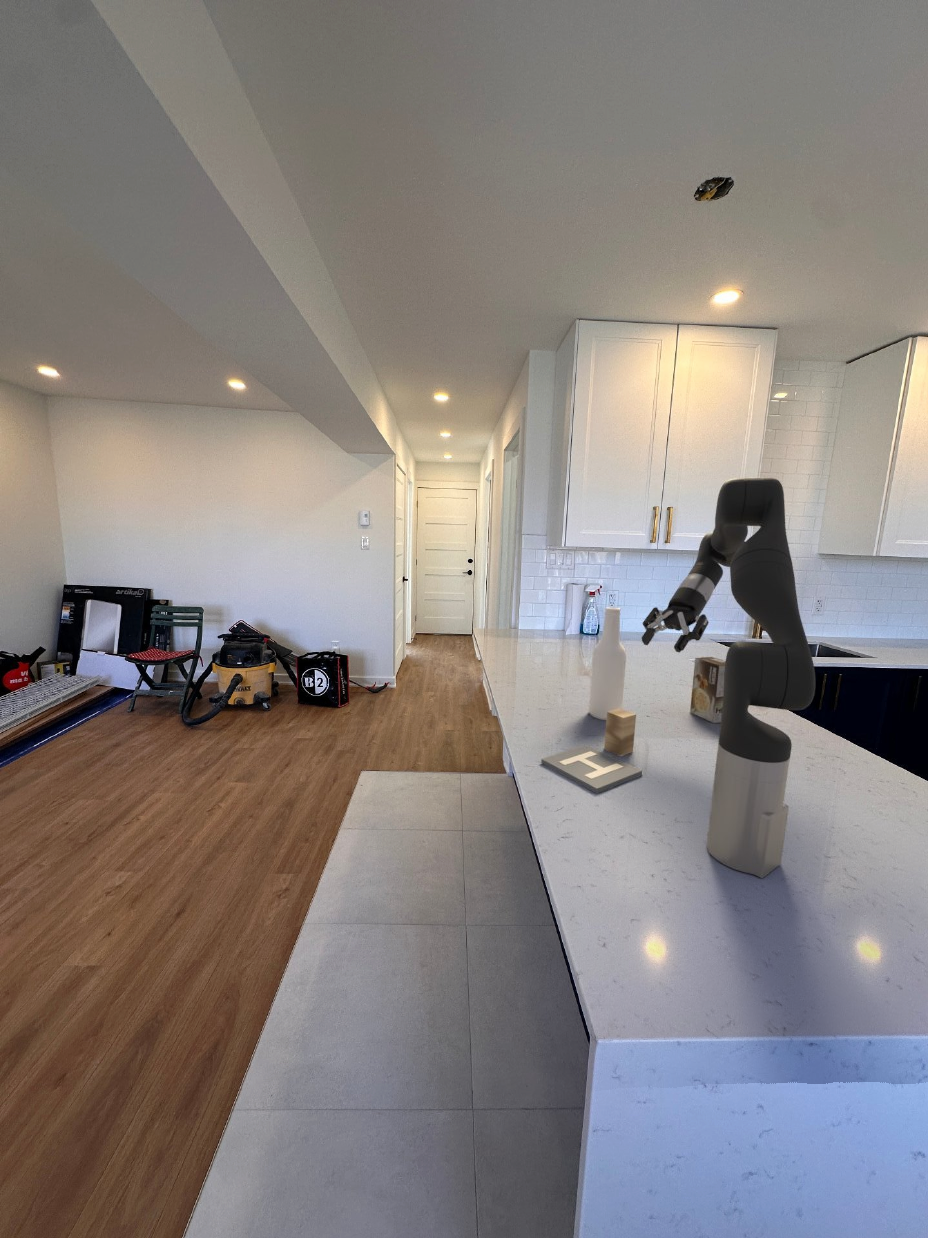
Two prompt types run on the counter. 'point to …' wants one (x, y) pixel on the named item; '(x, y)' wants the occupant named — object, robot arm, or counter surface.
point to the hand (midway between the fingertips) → (660, 646)
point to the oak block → (620, 732)
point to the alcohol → (608, 668)
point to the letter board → (591, 768)
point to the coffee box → (708, 688)
